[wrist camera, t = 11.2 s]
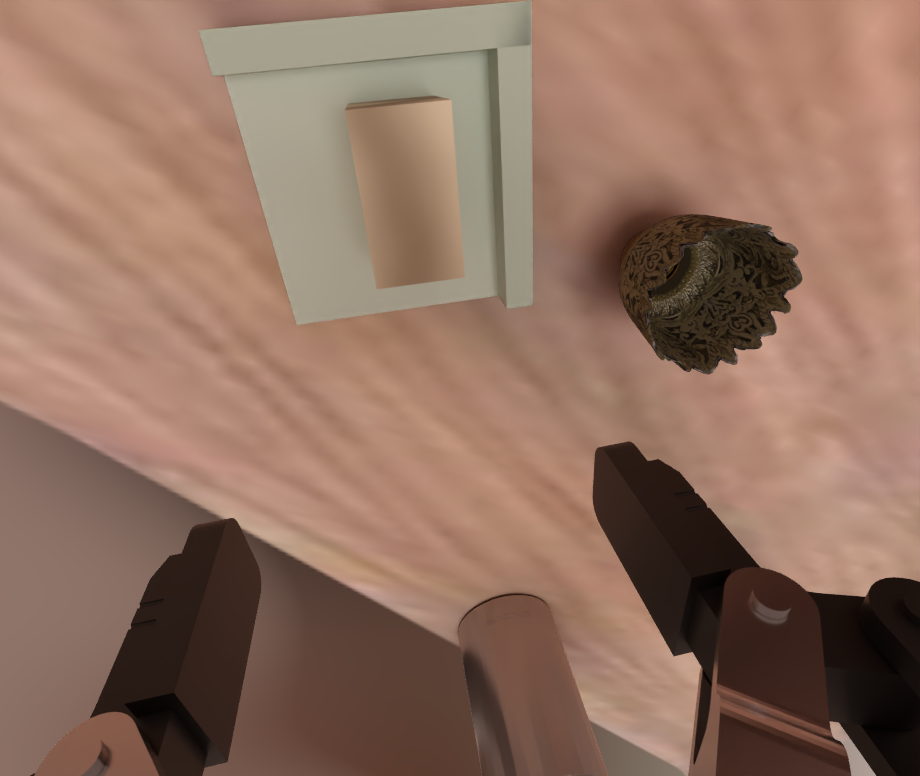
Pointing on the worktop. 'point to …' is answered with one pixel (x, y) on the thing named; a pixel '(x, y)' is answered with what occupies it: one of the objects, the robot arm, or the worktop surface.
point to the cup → (706, 287)
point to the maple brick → (408, 188)
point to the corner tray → (330, 154)
